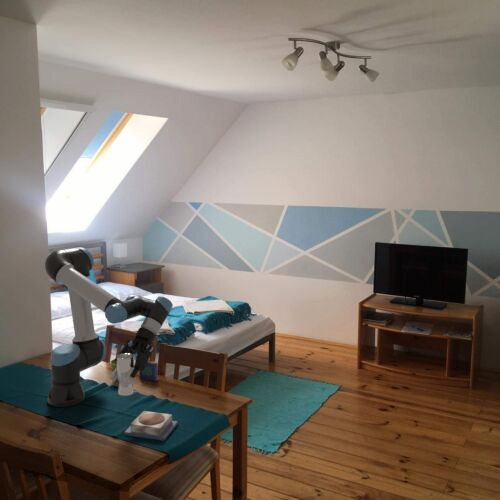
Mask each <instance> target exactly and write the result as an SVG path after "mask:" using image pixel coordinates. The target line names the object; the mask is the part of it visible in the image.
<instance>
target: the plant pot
mask: <svg viewBox="0 0 500 500" xmlns="http://www.w3.org/2000/svg"><path fill="white" fill-rule="evenodd" d="M109 363H110V366H111V369H112V371H113V370H114V368H115V366H116V361H115V358H114V359H112V360H110V362H109ZM116 381H117V382H118V377H117V379H116V380H115V382H116Z"/></svg>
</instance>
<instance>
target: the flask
mask: <svg viewBox="0 0 500 500" xmlns="http://www.w3.org/2000/svg"><path fill="white" fill-rule="evenodd" d="M158 364H159V363H158V361H151V357H150V358H149V360H148V362H147V364H146V366H145V368H144V370H143V371H142V370H139V380H143V381H149V382H157V381H158V372H159V371H158V367H159V366H158Z"/></svg>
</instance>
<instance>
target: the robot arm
mask: <svg viewBox="0 0 500 500" xmlns="http://www.w3.org/2000/svg"><path fill="white" fill-rule="evenodd" d="M94 265H95V261H94V257H93V255H92V253H91V252H90V251H89V250H88V249H86V248H85V247H71V248H65V249H58V250H55V251H53V252H51V253H50V254H48V256H47V257H46V259H45V261H44V268H45V271H46V274H47V275H48V276H49V278H50V279H51V280H53V281H54V282H55V283H56V284H58V285H64V286H65V287H67V289H68V296H69V303H70V309H71V317H72V324H73V331H74V337H73V338H72V341H71V342H72V343H66V344H61V345H58V346H57V347H55V348H54V349H52V351H51V354H50V369H51V371H50V374H51V375H50V376H51V385H50V388H49V392H48V395H47V403H48V405H50V406H51V407H55V408H57V407H58V408H68V407H74V406H77V405H78V404H81V403H82V402H84V400H85V395H86V394H85V390H84V388H83V386H82V383H81V372H83V371H85V370H87V369H90V368H93V367H95V366H97V365H98V364H100V363H102V362H104V359H105V358H106V355H107V346H106V344H105V342H104V341H103V339H102V338H100V335H99V334H98V333H96V331H95V325H94V319H93V310H92V305H93V306H94V307H95V308H97V309H98V310H100V311H101V312H103V313H104V315H105V318H106V320H107V321H108V322H109V323H110V324H113V325H115V324H120V323H123V322H126V321H127V320H131V319H134V318H136V317H138V316H142V317H144V320H143V321H142V323H141V325H140V327H138V328H139V329H138V330H137V332H136V333H135V338H134V339H133V340H129V339H127V340H126V341H125V344H124V346H122V348H121V350H120V351H119V353H117V355H119V354H123V353H130V354H133V355H135V354H136V357H135V360H134V366H133V367H134V368H131V370H130V372H129V373H128V375H127V377H126V378H125V380H124V382H123V383H124V384H125V385H126V386H129V384H130V382H131V381H132V379H133V380H134V379H135V378H136V376H137V374H138V373H139V372H140V370H142V371H143V370H144V368H145V366H146V364H147V362H148V360H149V358H150V359H151V355H152V353H154V351H155V348H154V347H153V345H152V344H153V343H154V341H155V339H156V336H157V335H158V334H159V332H160V331H161V328H162V327H163V324H164V323H165V321H166V319H167V318H168V316H169V315H170V313H171V310H172V309H173V304H174V303H173V302H172V301H171V300H170V299H168V297H165V296H161V295H160V296H158V297H157V298H156V299H150V298H147V297H144V296H141V295H138V294H130V295H128V296H127V297H126V298H125V300H124V301H122V300H121V299H119V298H117V297H116V296H114V295H113V294H111V293H110V292H109V291H107V290H106V289H104V288H103V287H101V286H100V285H99V284H97V283H96V282H95V281H93V280H91V279H89V278H90V277H91V273H90V272H91V270H92V269H93V268H94ZM114 359H115V361H116V359H117V356H116V357H115V358H114ZM116 379H117V372H116V366H115V368H114V370H113V369H112V373H111V375H110V376H109V380H111V381H112V382H113V383H116Z"/></svg>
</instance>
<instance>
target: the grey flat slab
mask: <svg viewBox="0 0 500 500" xmlns="http://www.w3.org/2000/svg"><path fill="white" fill-rule="evenodd" d="M178 423H179V421H177V420H172V422H171V424H170V425H169V426H168V427H167V428H166V430H165V431H164V432H163V433H162V434H161V435H160V436H159V435H152V434H145V433H137V432H131V425H130V426H129V427H128V428H127V429H125V431H124V436H129V437H135V438H136V437H138V438H141V439H142V438H143V439H148V440H149V439H150V440H158V441H162V442H163V441H165V440H166V439H167V438H168V437H169V436H170V434H171V433H172V432H173V431H174V429H176V427H177V426H178Z"/></svg>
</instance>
